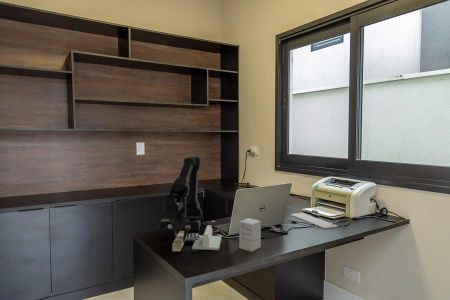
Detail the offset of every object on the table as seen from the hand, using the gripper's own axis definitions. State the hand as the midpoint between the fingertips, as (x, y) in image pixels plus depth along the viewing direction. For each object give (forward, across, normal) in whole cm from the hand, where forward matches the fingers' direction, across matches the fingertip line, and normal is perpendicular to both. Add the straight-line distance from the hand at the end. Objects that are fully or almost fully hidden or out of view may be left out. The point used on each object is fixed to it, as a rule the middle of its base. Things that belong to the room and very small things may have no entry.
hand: (179, 241), depth 148 cm
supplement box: (+1, +33, -2) cm, 33 cm away
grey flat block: (+2, +73, +46) cm, 86 cm away
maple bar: (+1, 0, 0) cm, 1 cm away
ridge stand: (+1, +13, +2) cm, 13 cm away
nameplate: (+2, +45, +30) cm, 54 cm away
